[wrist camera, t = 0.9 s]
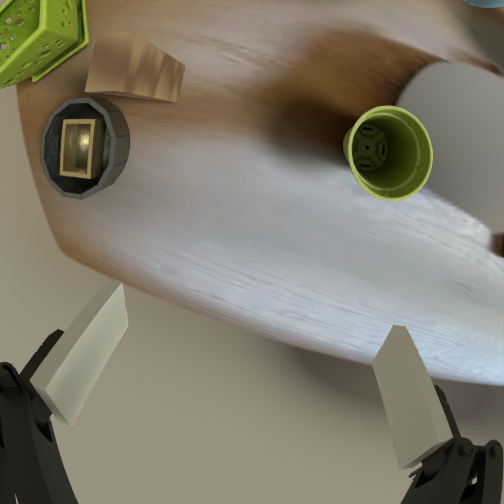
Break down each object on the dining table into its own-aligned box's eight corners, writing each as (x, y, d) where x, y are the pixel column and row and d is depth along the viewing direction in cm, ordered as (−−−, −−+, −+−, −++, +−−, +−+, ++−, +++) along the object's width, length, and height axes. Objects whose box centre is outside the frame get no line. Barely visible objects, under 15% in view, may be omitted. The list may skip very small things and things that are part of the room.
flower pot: (103, 47, 25) (44, 29, 14) (38, 92, 28) (-20, 96, 16) (95, -15, 20) (47, -40, 8) (33, 31, 22) (-17, 24, 11)
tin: (62, 100, 29) (45, 101, 25) (136, 98, 29) (121, 96, 25) (57, 186, 34) (40, 192, 31) (125, 196, 35) (111, 205, 31)
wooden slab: (162, 65, 27) (97, 35, 13) (185, 65, 27) (129, 31, 14) (155, 101, 29) (84, 92, 16) (177, 102, 29) (114, 90, 16)
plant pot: (327, 181, 32) (345, 198, 25) (329, 106, 28) (349, 99, 21) (394, 186, 32) (427, 204, 24) (399, 115, 28) (434, 115, 20)
